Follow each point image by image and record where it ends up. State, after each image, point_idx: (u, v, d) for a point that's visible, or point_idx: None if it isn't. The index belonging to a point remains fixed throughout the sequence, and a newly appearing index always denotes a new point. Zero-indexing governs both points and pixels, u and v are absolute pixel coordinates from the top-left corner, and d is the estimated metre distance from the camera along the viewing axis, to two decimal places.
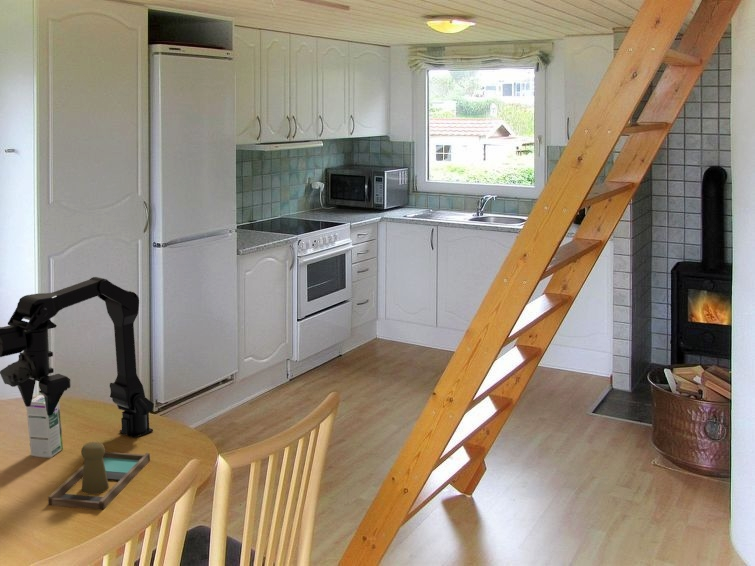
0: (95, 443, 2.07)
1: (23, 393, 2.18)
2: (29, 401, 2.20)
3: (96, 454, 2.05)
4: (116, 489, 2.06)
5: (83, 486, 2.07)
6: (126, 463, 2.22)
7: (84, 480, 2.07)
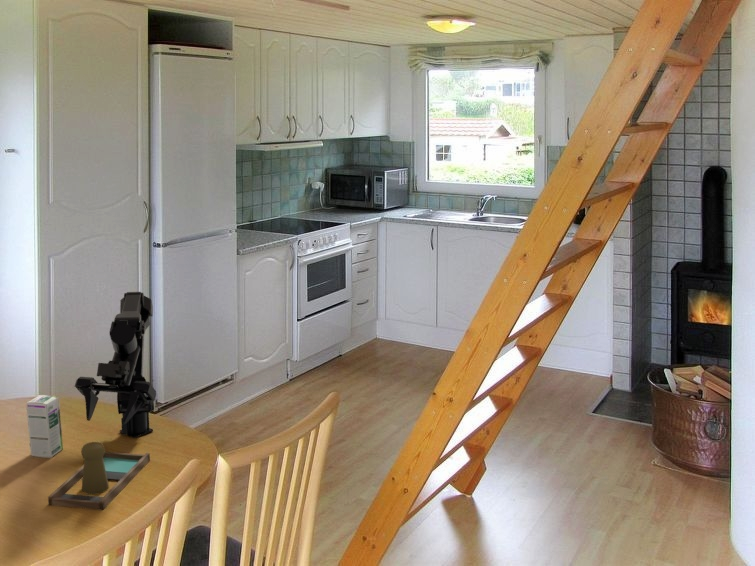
0: (95, 443, 2.07)
1: (90, 404, 2.16)
2: (90, 416, 2.16)
3: (96, 454, 2.05)
4: (116, 489, 2.06)
5: (83, 486, 2.07)
6: (126, 463, 2.22)
7: (84, 480, 2.07)
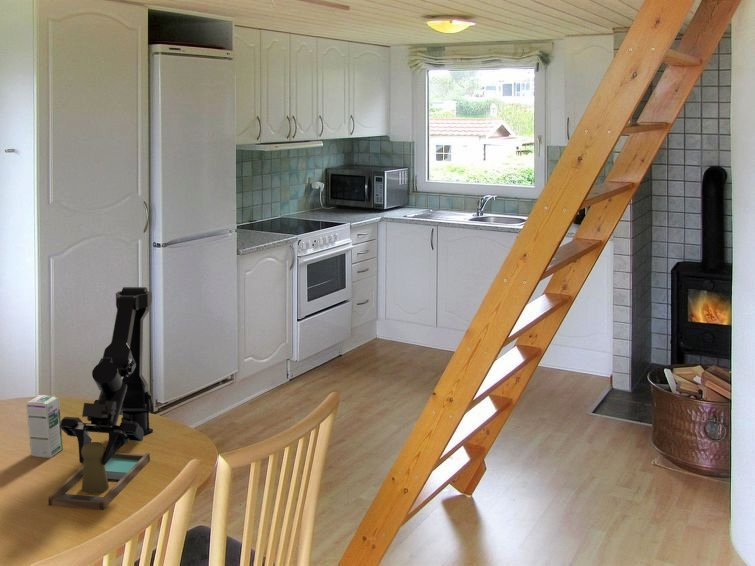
0: (95, 443, 2.07)
1: None
2: (83, 458, 2.08)
3: (96, 454, 2.05)
4: (116, 489, 2.06)
5: (83, 486, 2.07)
6: (126, 463, 2.22)
7: (84, 480, 2.07)
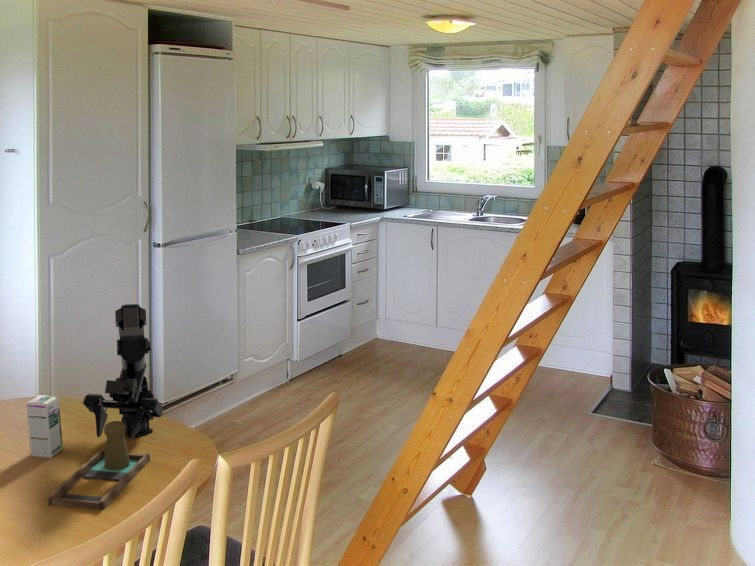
0: (117, 422, 2.19)
1: (100, 421, 2.20)
2: (100, 432, 2.20)
3: (119, 432, 2.17)
4: (116, 489, 2.06)
5: (106, 463, 2.19)
6: None
7: (107, 457, 2.18)
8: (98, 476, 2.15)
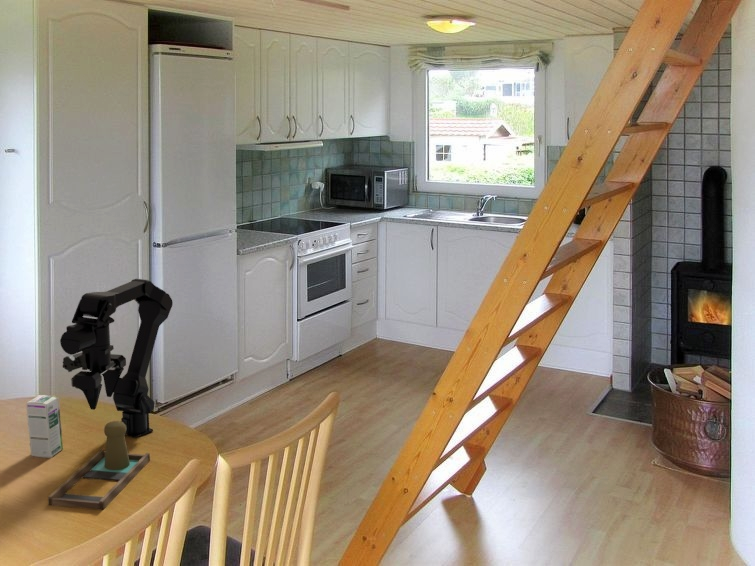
0: (117, 422, 2.19)
1: (105, 383, 2.31)
2: (109, 392, 2.31)
3: (119, 432, 2.17)
4: (116, 489, 2.06)
5: (106, 463, 2.19)
6: None
7: (107, 457, 2.18)
8: (98, 476, 2.15)
